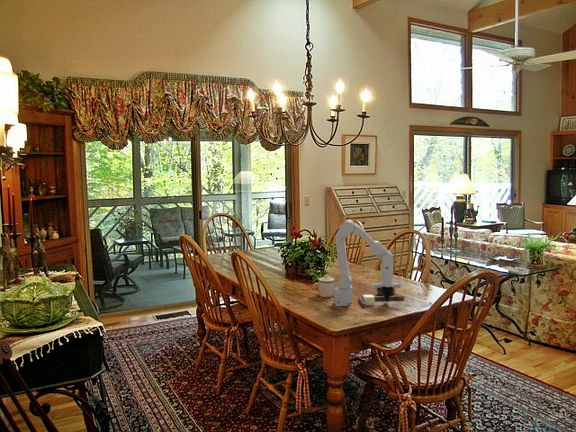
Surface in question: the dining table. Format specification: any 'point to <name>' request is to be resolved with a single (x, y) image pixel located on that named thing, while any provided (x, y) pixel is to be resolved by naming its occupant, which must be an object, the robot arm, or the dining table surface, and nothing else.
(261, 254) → the dining table surface
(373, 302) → the cream block
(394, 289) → the decorative turtle
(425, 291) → the dining table surface
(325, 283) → the teacup with lid
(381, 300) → the trap box
